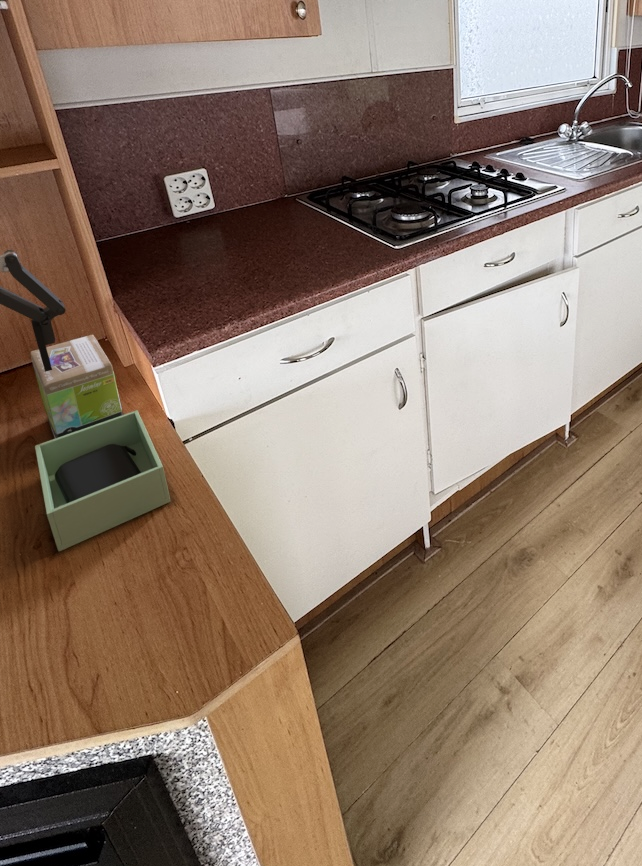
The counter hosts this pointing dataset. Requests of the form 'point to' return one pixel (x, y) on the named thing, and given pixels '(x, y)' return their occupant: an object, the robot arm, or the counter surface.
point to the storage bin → (108, 503)
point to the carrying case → (95, 471)
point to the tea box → (77, 385)
